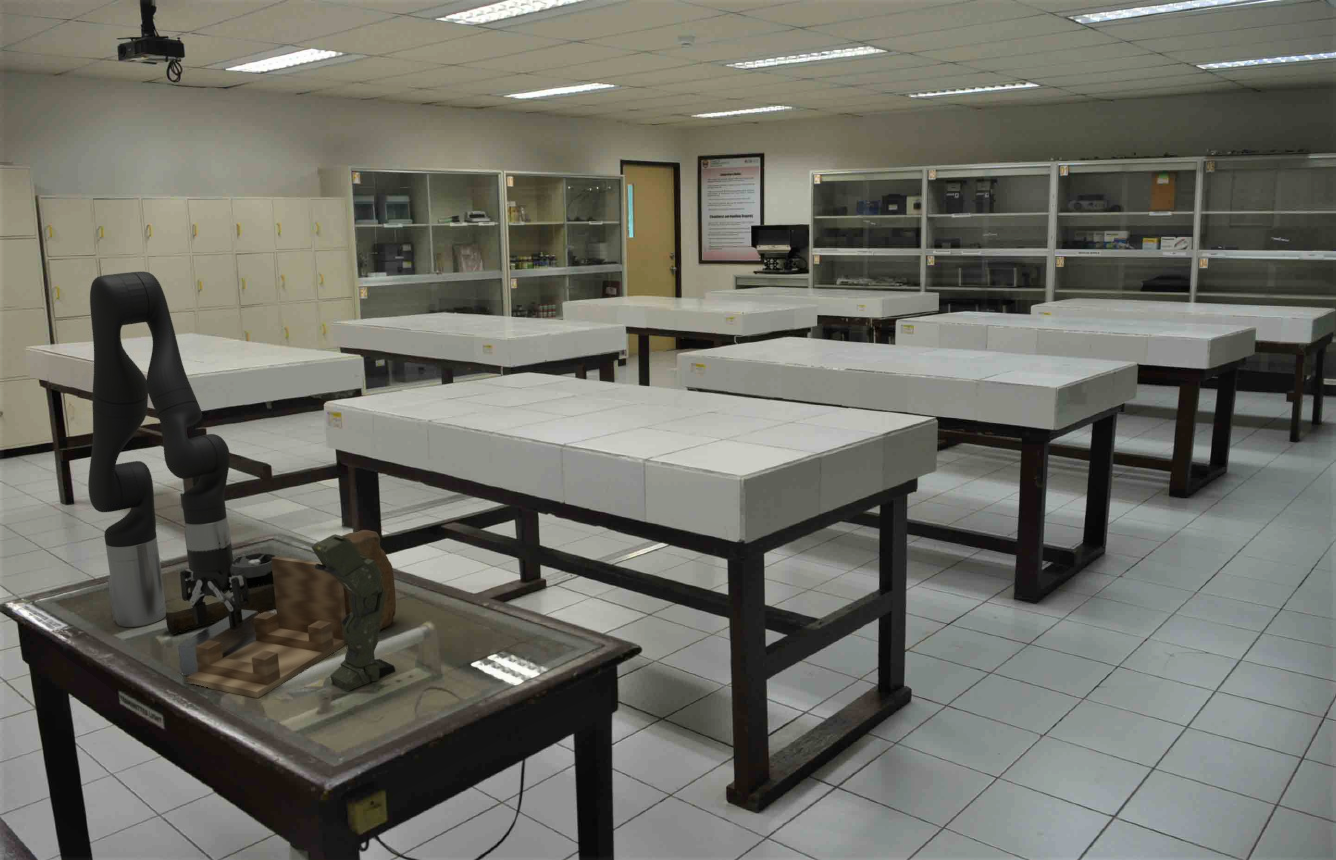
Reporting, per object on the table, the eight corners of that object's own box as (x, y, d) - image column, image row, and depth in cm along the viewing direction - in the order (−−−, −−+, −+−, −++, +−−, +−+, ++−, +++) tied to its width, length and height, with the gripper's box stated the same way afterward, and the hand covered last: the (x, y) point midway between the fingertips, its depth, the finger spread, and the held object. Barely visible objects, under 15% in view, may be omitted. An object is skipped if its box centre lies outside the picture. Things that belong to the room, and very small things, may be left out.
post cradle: (187, 683, 172) (176, 599, 169) (283, 632, 193) (275, 556, 190) (257, 698, 166) (248, 611, 163) (348, 643, 188) (341, 565, 184)
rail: (181, 675, 176) (177, 645, 174) (243, 637, 192) (240, 609, 190) (200, 678, 175) (196, 647, 173) (261, 639, 191) (257, 611, 189)
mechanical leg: (392, 651, 182) (348, 518, 171) (414, 661, 178) (371, 525, 167) (333, 692, 173) (282, 554, 162) (355, 703, 169) (304, 563, 158)
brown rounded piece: (351, 641, 189) (343, 544, 184) (334, 630, 194) (325, 535, 190) (402, 625, 196) (394, 531, 192) (383, 615, 201) (376, 523, 197)
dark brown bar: (171, 639, 191) (167, 613, 190) (166, 631, 195) (162, 606, 194) (288, 611, 205) (286, 586, 204) (281, 604, 209) (279, 580, 207)
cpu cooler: (276, 563, 217) (227, 569, 214) (278, 587, 218) (229, 593, 215) (277, 549, 227) (230, 554, 223) (279, 572, 228) (233, 577, 225)
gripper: (163, 545, 177) (174, 628, 180) (222, 552, 172) (232, 637, 175) (196, 533, 184) (206, 613, 187) (253, 540, 179) (263, 622, 182)
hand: (218, 625), depth 181 cm, fingers open, 8 cm apart
